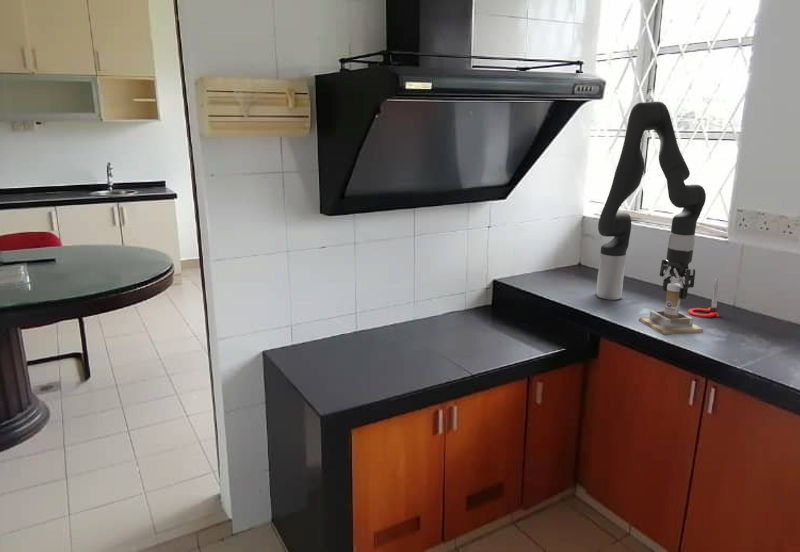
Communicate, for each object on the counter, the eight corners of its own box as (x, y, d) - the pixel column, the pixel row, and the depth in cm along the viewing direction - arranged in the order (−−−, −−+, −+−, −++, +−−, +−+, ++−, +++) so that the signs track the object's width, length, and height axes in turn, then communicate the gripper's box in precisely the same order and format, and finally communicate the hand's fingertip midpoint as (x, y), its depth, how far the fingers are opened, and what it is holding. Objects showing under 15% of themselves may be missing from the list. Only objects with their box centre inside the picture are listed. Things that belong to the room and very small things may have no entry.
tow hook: (694, 319, 201) (721, 318, 200) (697, 283, 198) (724, 282, 197) (683, 311, 209) (710, 310, 209) (686, 277, 206) (713, 276, 205)
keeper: (639, 320, 198) (640, 309, 197) (675, 317, 201) (677, 306, 200) (663, 334, 185) (665, 323, 184) (702, 331, 187) (704, 320, 186)
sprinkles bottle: (660, 323, 193) (665, 284, 189) (664, 319, 196) (669, 281, 192) (675, 326, 190) (680, 287, 186) (679, 322, 193) (684, 284, 190)
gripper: (656, 242, 192) (651, 288, 196) (684, 252, 178) (677, 302, 183) (677, 241, 193) (670, 287, 198) (706, 251, 180) (698, 300, 184)
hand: (674, 294), depth 190 cm, fingers open, 8 cm apart
